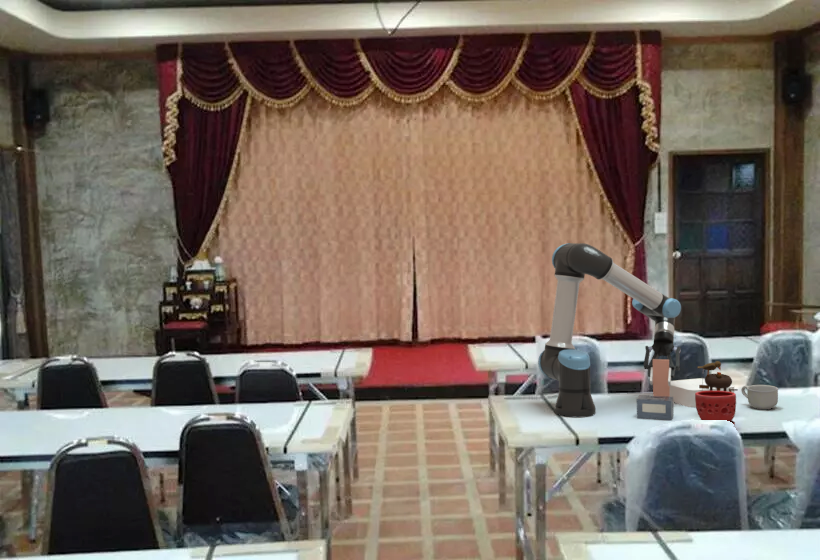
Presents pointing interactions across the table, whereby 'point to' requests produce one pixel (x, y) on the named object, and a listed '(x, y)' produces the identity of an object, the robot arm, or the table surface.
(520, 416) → the table surface
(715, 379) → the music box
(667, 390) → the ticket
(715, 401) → the plant pot
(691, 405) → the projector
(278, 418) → the table surface
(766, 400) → the teacup
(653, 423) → the table surface
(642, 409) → the block
